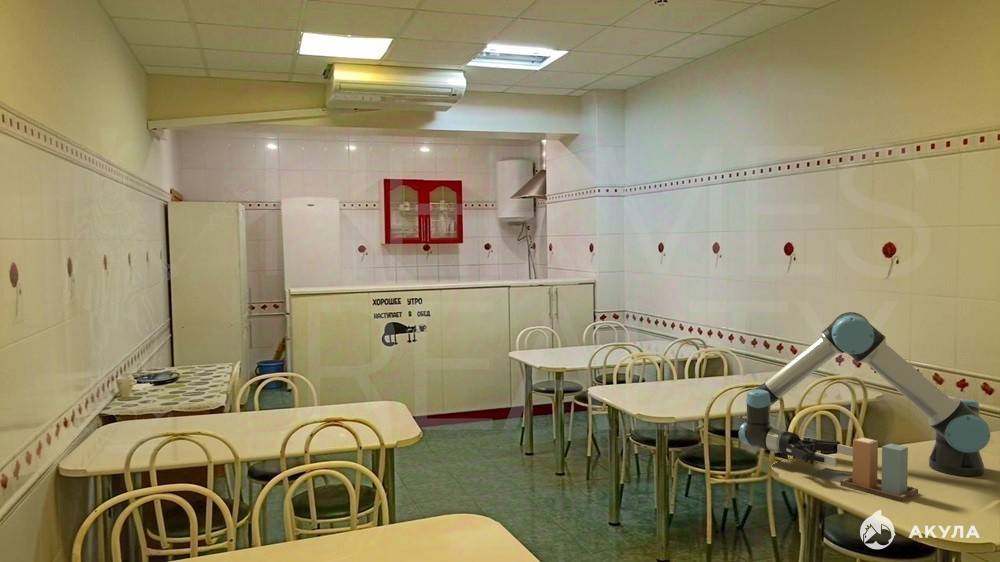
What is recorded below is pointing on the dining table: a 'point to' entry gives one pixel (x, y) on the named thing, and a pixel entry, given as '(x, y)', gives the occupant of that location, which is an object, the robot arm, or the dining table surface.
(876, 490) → the tray
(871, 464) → the rust box
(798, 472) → the dining table surface
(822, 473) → the mat
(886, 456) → the slate box
